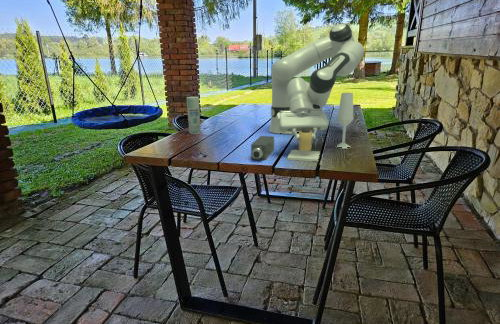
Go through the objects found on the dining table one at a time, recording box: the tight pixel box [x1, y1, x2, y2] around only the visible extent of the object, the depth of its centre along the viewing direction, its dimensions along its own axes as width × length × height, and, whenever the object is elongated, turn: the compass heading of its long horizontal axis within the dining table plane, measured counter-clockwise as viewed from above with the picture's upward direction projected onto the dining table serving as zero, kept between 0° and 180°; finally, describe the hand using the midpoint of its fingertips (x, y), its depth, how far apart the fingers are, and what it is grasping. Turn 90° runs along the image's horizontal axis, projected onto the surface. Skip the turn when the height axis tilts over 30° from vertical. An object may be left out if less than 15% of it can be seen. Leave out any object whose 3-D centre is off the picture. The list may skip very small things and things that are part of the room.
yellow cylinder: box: [298, 129, 313, 151], centre depth 124 cm, size 5×5×8 cm
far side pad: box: [286, 149, 321, 163], centre depth 127 cm, size 12×12×1 cm
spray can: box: [186, 96, 201, 135], centre depth 171 cm, size 6×6×20 cm
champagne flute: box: [336, 92, 354, 149], centre depth 138 cm, size 7×7×24 cm
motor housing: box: [250, 135, 275, 161], centre depth 130 cm, size 22×6×6 cm, turn 164°
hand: (305, 138), depth 124 cm, fingers closed on yellow cylinder, 5 cm apart
